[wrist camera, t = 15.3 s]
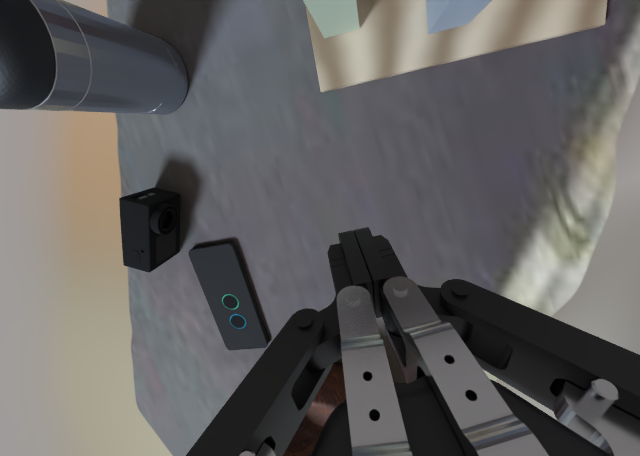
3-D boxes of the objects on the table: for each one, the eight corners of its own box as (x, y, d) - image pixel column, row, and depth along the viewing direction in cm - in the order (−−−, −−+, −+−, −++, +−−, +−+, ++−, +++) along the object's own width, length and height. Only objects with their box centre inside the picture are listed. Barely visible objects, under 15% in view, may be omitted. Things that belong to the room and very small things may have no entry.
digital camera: (186, 254, 48) (157, 275, 41) (156, 246, 48) (122, 266, 42) (188, 195, 44) (156, 208, 37) (155, 187, 44) (118, 198, 38)
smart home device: (226, 351, 52) (185, 251, 46) (230, 344, 53) (191, 246, 47) (268, 348, 50) (231, 243, 44) (271, 341, 52) (236, 239, 45)
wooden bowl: (269, 331, 50) (245, 380, 41) (411, 370, 48) (421, 431, 39) (254, 424, 60) (233, 482, 50) (373, 461, 57) (374, 528, 48)
